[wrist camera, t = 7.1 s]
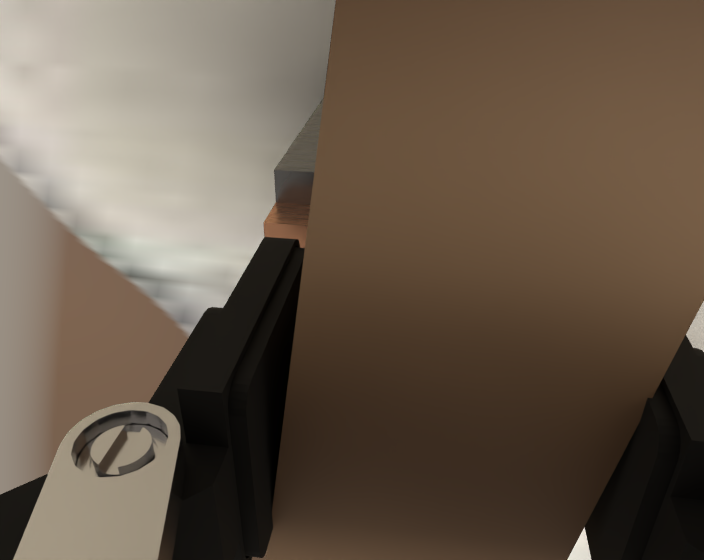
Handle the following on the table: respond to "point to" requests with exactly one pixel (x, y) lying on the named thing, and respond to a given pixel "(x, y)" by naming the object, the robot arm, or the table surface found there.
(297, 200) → the ridge stand
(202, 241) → the table surface
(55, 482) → the robot arm
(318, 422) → the walnut rod
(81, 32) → the table surface
